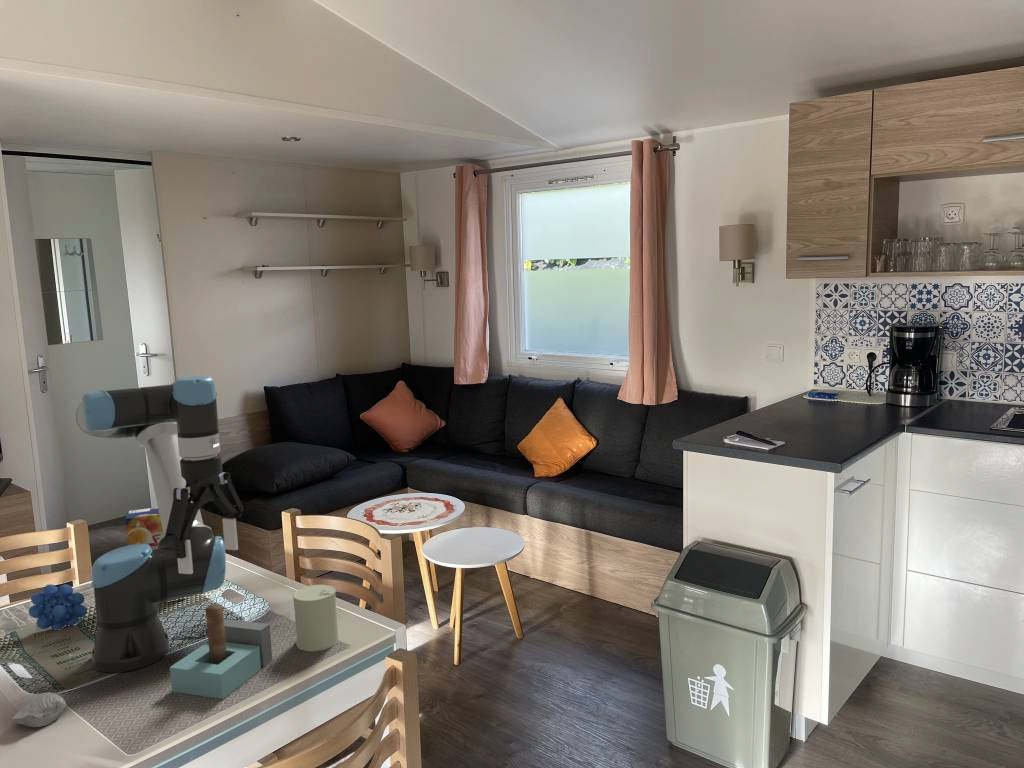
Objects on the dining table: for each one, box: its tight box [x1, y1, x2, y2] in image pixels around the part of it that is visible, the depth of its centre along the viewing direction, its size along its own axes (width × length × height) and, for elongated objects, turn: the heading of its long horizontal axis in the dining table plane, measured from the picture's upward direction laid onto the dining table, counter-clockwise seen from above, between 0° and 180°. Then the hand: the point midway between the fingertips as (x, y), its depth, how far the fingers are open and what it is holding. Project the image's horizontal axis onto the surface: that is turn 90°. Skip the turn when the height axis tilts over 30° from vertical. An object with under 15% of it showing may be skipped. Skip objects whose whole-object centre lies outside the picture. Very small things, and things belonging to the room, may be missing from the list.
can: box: [292, 584, 340, 652], centre depth 172 cm, size 9×9×12 cm
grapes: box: [28, 584, 88, 630], centre depth 181 cm, size 12×7×12 cm, turn 126°
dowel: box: [205, 603, 227, 665], centre depth 157 cm, size 3×3×15 cm
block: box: [169, 641, 262, 700], centre depth 157 cm, size 12×12×5 cm
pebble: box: [10, 691, 67, 728], centre depth 144 cm, size 9×8×5 cm
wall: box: [224, 618, 273, 668], centre depth 165 cm, size 12×3×8 cm, turn 73°
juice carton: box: [125, 506, 164, 550], centre depth 196 cm, size 12×8×24 cm, turn 112°
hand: (209, 560), depth 155 cm, fingers open, 13 cm apart
